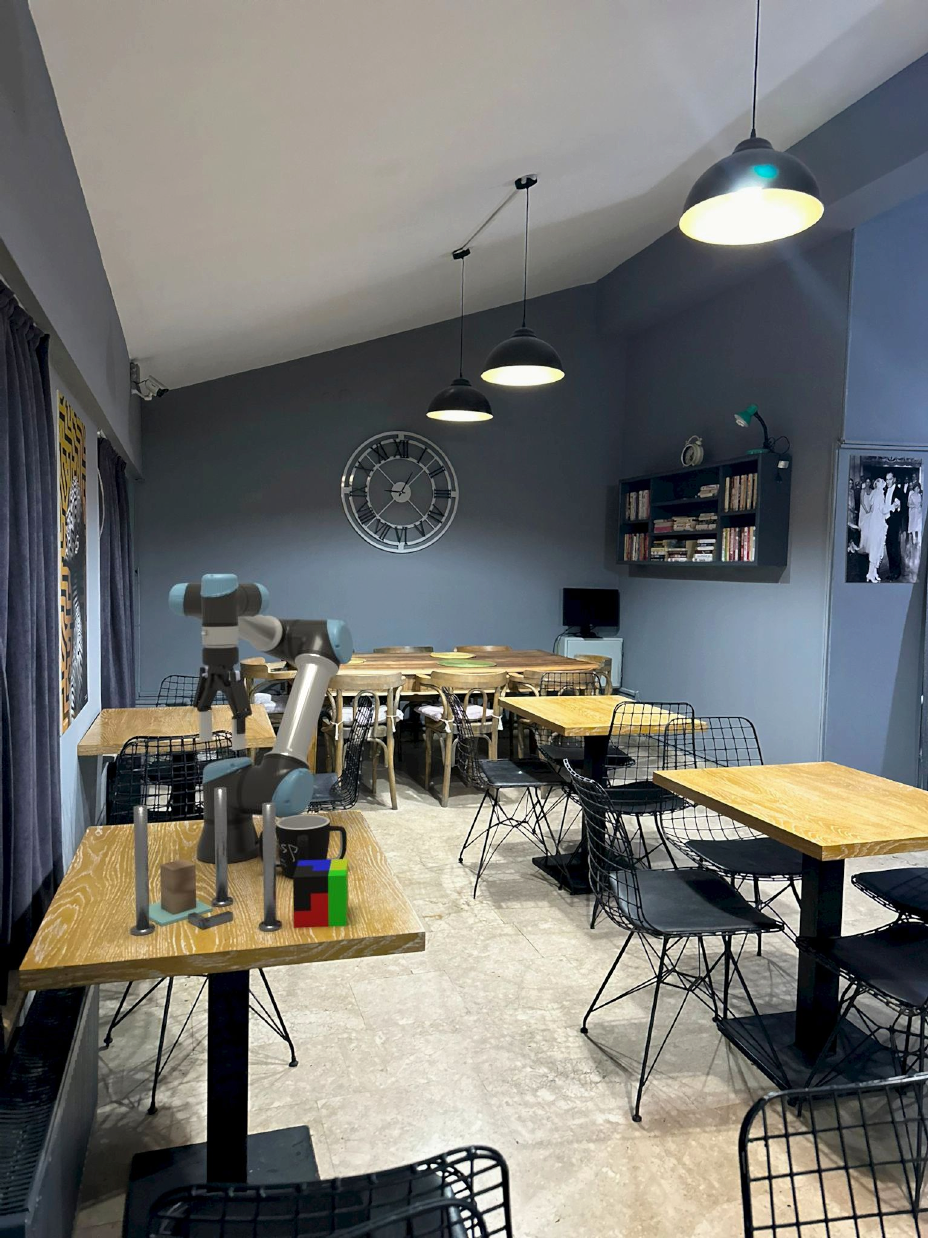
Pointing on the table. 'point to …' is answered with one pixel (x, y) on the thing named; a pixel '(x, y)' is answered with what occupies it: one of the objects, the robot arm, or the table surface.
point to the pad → (167, 918)
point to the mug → (303, 840)
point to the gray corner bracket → (209, 919)
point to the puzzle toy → (320, 893)
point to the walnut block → (178, 886)
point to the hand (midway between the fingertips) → (222, 745)
